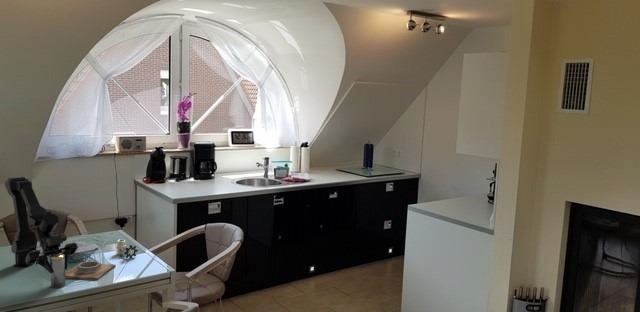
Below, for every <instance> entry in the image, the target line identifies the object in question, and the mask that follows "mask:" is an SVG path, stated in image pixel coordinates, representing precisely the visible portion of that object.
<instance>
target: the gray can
mask: <svg viewBox="0 0 640 312" xmlns="http://www.w3.org/2000/svg"><path fill="white" fill-rule="evenodd" d="M49 263H50V266H51V268H52V271H53V272H52V273H50V272H49V273H50V287H51V288H53V289H61V288H63V287H65V286H66V278H65V273H66V270H65V257H64V254H60V253H59V254H54V255H50V256H49Z"/></svg>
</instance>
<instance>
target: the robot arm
mask: <svg viewBox="0 0 640 312" xmlns="http://www.w3.org/2000/svg"><path fill="white" fill-rule="evenodd" d="M4 186H5V189H6V192H7V194H8V195H9V196H10V197H11V198H12V202H13V209H14V217H15V224H16V230H17V231H16V233H14V236H13V243H12V245H11V247H10V250H11V253H12V254H14V260H15V262H14V263H15V264H13V265H12V266H13V267H17V268H19V267H21V268H23V267H24V268H28V267H30V266H31V265H33V264H36V265H39V266H41V267H42V268H44V269H45V270H46V271H48V272H49V273H52V272H53V271H52V268H51V266H50V260H49V259H48V257H50V256H51V255H54V254H64V257H65V271H66V270H68V257H69V256H72V255H74V254H76V252H77V250H78V248H79V246H78V244H77V243H76V242H70V243H66V244H65V245H64V246H63V247H61V246H62V244H63V243H64V242H66V241H67V239H68V238H67V235H66V232H62V233H59V234H58V235H55V234H54V233H53V231H55V229H56V227H57V225H58V224H59V220H60V218H59V217H58V215H57V214H54V213H52V212H51V211H47V209H46V208H45V207H44V206H42V205H41V204H40V202H39V199H38V197H37V195H36V193H35V190H34V188H33V182H32V181H31V179H30V178H29V179H28V178H25V177H24V176H18V177H9V178H7V180H6V181H5V182H4ZM30 227H33V228H34V227H36V229H35V232H34V231H33V230H32V229H31V228H30ZM38 243H39V248H41V250H42V251H40V250H39V249H37V245H38ZM60 247H61V248H60Z"/></svg>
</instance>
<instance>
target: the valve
mask: <svg viewBox="0 0 640 312" xmlns="http://www.w3.org/2000/svg"><path fill="white" fill-rule="evenodd" d="M128 246H129V247H128ZM128 246H127V245H126V240H125V239H118V240H117V241H116V250H117V251H116V254H117V255H119V256H120V255H121V256H123V255H125V258H126V259H130V260H131V259H132V260H133V257H137V253H138V251H139V250H138V249H136V248H137V246H136V245H131V244H129V245H128Z"/></svg>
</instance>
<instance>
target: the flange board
mask: <svg viewBox="0 0 640 312" xmlns="http://www.w3.org/2000/svg"><path fill="white" fill-rule="evenodd" d="M116 267H117V266H116V264H112V263H101V262H99V261H97V260H87V261H82V262H79V263H78V264H77V265H75V266H74V267H72V268H70V269H69V270H67V271H65V279H75V280H91V281H99V280H100V279H102V278H103V277H104V276H106V275H107V274H109V272H111V271H112V270H113V269H115V268H116Z"/></svg>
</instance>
